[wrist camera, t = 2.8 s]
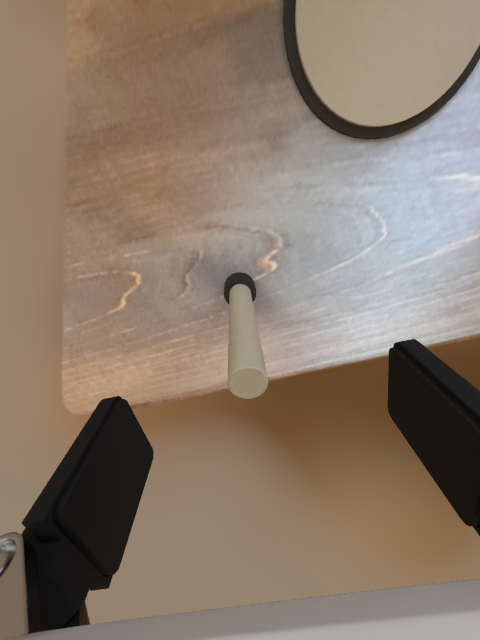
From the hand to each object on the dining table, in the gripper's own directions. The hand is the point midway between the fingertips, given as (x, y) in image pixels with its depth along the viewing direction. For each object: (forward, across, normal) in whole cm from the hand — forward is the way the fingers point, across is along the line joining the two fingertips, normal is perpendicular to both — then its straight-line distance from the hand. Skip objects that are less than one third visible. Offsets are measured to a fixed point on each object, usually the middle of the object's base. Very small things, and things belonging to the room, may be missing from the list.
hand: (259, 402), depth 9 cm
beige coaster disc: (+13, -11, -14) cm, 22 cm away
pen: (+13, 0, 0) cm, 13 cm away
